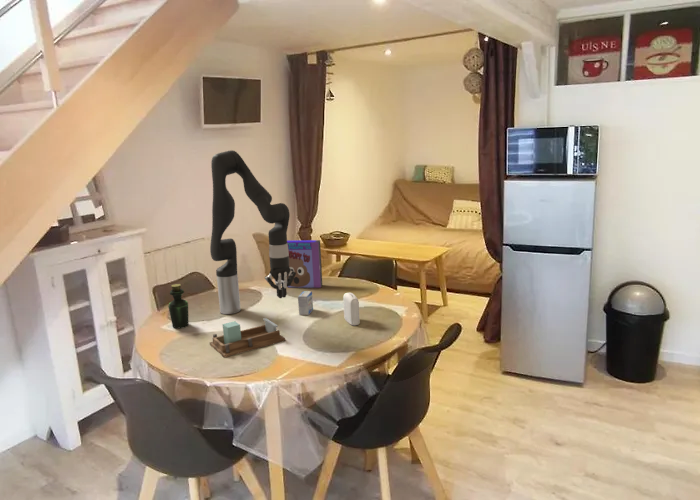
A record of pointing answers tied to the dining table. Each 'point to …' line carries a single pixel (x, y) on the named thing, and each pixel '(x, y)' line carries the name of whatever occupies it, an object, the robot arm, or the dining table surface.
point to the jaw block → (231, 332)
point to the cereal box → (305, 263)
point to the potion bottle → (178, 308)
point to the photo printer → (351, 308)
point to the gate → (270, 325)
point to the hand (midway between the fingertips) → (282, 297)
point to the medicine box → (305, 303)
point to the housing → (246, 341)
